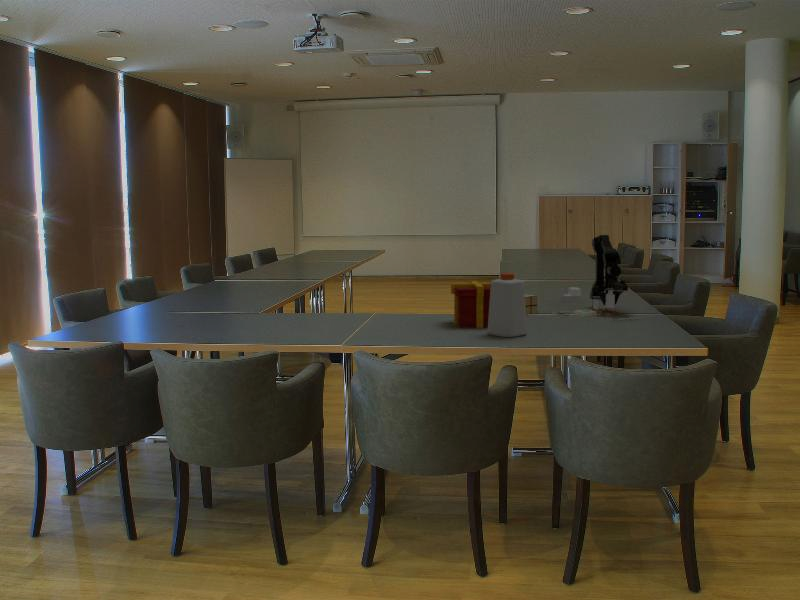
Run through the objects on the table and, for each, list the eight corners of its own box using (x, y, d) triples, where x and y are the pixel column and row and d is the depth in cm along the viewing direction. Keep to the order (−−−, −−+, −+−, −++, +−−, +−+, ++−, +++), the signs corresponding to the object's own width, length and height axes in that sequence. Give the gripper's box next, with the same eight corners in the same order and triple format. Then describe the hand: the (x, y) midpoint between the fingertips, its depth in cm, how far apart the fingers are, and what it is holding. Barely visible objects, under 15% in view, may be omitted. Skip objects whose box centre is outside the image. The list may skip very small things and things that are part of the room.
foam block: (559, 301, 479) (559, 287, 478) (576, 300, 480) (577, 287, 479) (563, 303, 470) (564, 289, 469) (581, 303, 470) (581, 289, 469)
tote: (551, 314, 423) (551, 312, 422) (568, 313, 427) (568, 311, 426) (562, 317, 412) (562, 315, 412) (580, 315, 417) (580, 313, 416)
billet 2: (605, 306, 415) (605, 293, 414) (613, 307, 414) (614, 293, 413) (605, 308, 410) (605, 294, 409) (614, 308, 409) (614, 294, 408)
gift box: (506, 328, 382) (506, 286, 379) (454, 329, 380) (454, 286, 378) (497, 320, 406) (497, 280, 404) (448, 320, 405) (448, 281, 402)
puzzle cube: (510, 313, 427) (511, 295, 426) (524, 312, 433) (524, 293, 432) (524, 316, 419) (524, 297, 418) (537, 314, 425) (537, 295, 424)
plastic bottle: (505, 330, 374) (506, 271, 370) (530, 334, 363) (531, 273, 359) (483, 334, 364) (483, 273, 361) (508, 338, 353) (508, 276, 349)
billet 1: (592, 312, 422) (593, 298, 421) (600, 311, 424) (600, 298, 423) (598, 313, 418) (598, 299, 417) (605, 312, 419) (605, 299, 418)
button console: (574, 316, 416) (574, 310, 415) (587, 315, 419) (587, 309, 418) (583, 318, 408) (583, 312, 408) (596, 317, 411) (596, 311, 411)
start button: (580, 315, 414) (580, 309, 414) (586, 314, 416) (586, 309, 416) (584, 316, 411) (584, 310, 410) (590, 315, 412) (591, 310, 412)
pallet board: (586, 314, 423) (586, 309, 423) (601, 312, 427) (601, 307, 426) (606, 318, 407) (606, 313, 406) (622, 317, 410) (623, 312, 410)
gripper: (605, 277, 399) (604, 308, 401) (635, 275, 406) (634, 305, 408) (591, 275, 409) (591, 305, 411) (621, 273, 416) (620, 303, 418)
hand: (609, 304), depth 412 cm, fingers closed on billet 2, 6 cm apart
